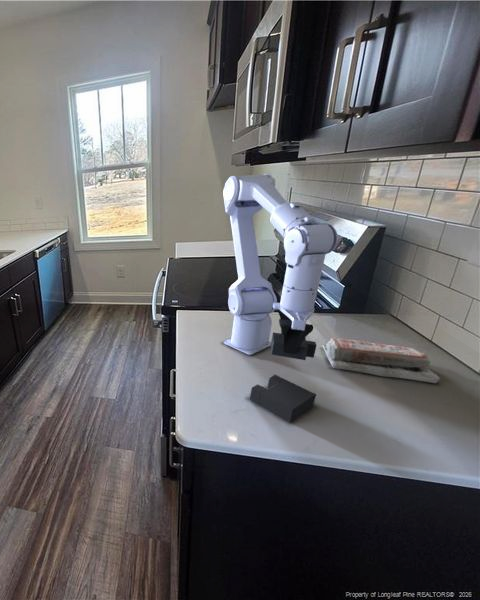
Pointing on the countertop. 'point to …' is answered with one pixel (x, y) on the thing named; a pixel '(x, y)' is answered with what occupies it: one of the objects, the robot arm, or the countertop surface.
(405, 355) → the packaged product
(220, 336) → the countertop surface
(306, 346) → the graphite pad
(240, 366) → the countertop surface
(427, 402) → the countertop surface
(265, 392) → the black pad
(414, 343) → the countertop surface
